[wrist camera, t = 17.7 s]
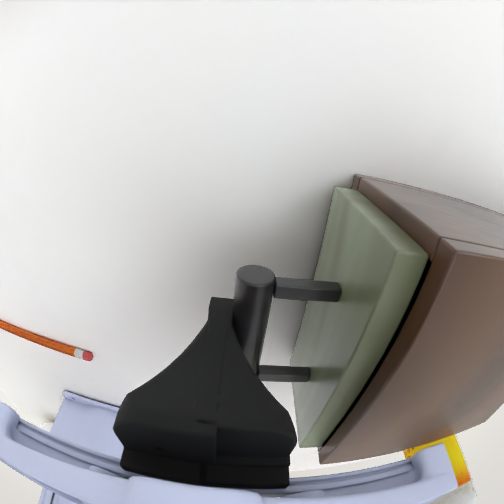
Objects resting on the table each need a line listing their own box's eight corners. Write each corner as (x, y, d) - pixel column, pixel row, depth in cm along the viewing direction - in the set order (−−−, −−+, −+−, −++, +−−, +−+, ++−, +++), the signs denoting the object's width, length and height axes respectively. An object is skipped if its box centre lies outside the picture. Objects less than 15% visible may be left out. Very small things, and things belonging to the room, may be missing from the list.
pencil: (93, 357, 19) (90, 363, 19) (-27, 310, 18) (-30, 314, 18) (91, 350, 19) (88, 356, 18) (-29, 304, 18) (-33, 308, 17)
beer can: (390, 416, 24) (420, 533, 10) (439, 390, 22) (482, 503, 9) (399, 430, 26) (425, 528, 13) (442, 407, 24) (476, 503, 11)
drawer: (228, 358, 17) (221, 446, 11) (246, 174, 12) (239, 233, 6) (437, 355, 18) (467, 415, 12) (501, 225, 13) (564, 274, 7)
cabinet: (303, 358, 18) (319, 465, 11) (354, 173, 13) (456, 250, 5) (447, 351, 19) (485, 421, 12) (511, 217, 13) (586, 275, 6)
